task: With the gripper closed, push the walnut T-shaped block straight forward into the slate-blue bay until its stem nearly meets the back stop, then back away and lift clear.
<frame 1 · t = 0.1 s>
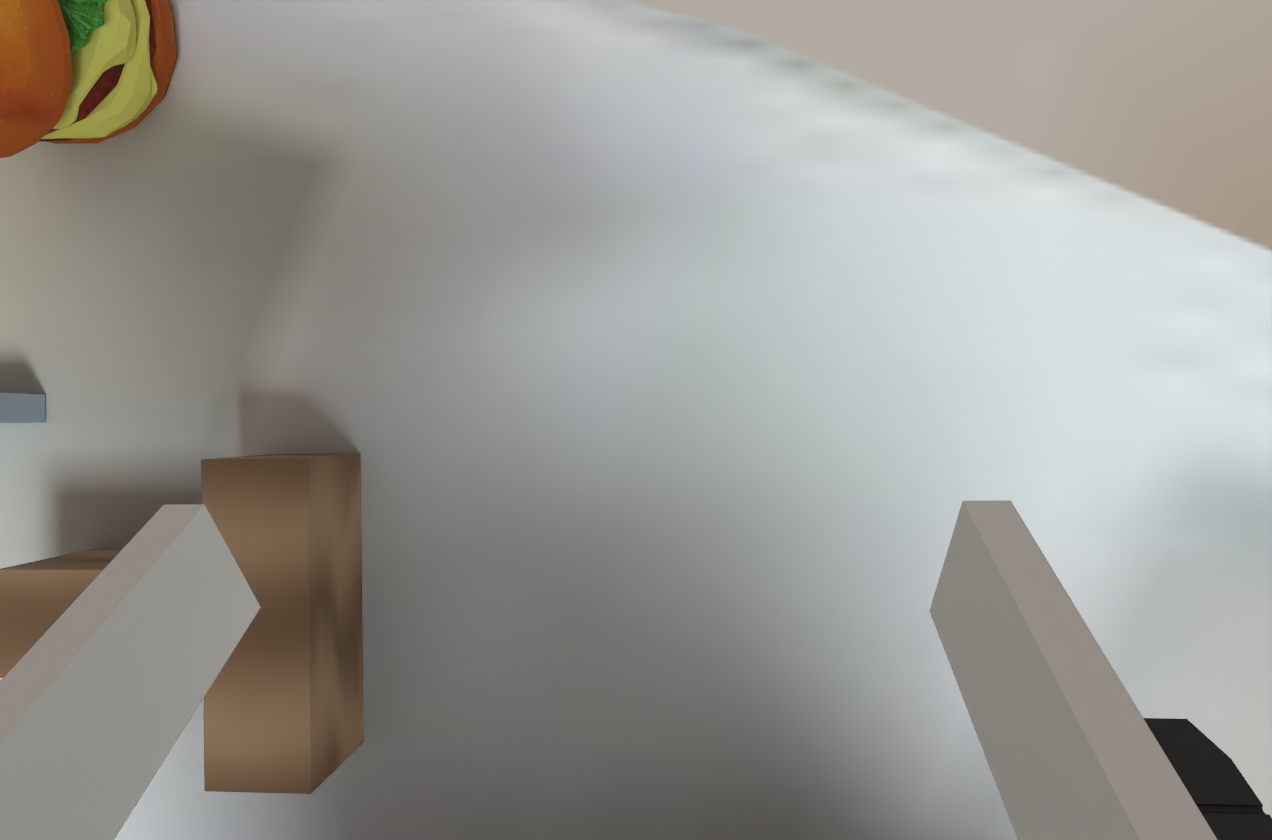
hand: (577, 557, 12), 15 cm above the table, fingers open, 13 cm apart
t block: (224, 596, 29), on the table
cheeseburger: (91, 65, 29), on the table
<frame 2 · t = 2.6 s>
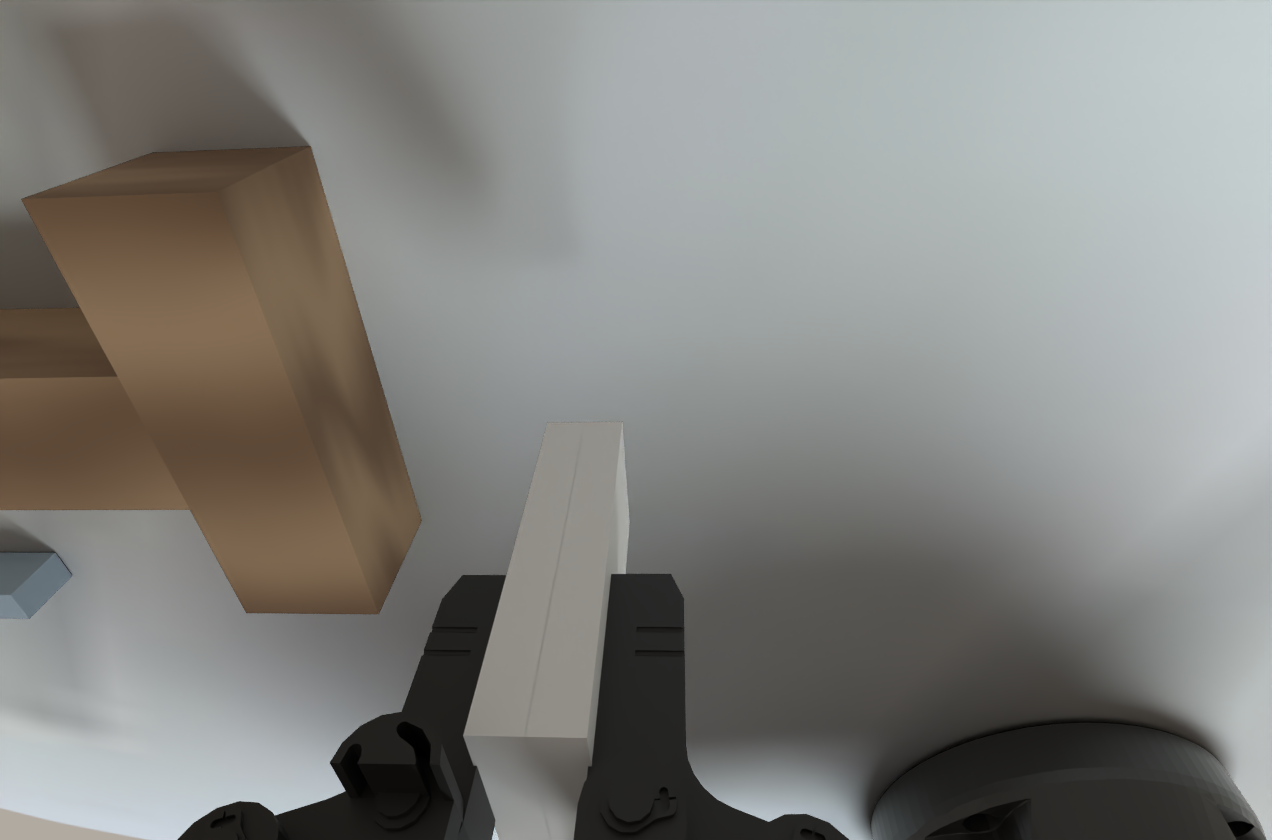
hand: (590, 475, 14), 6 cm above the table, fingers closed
t block: (178, 368, 20), on the table
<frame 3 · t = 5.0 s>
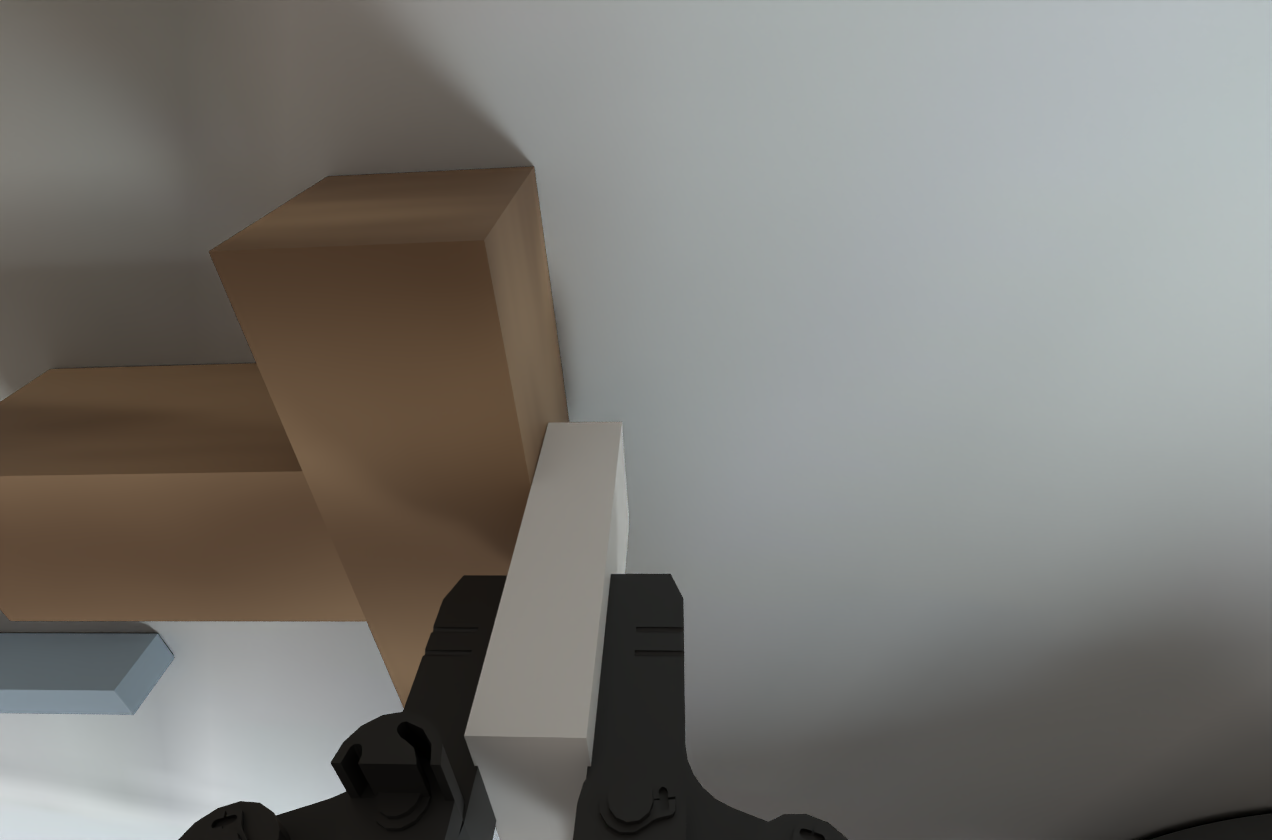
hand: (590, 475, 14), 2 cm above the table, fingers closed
t block: (325, 433, 16), on the table, touching gripper
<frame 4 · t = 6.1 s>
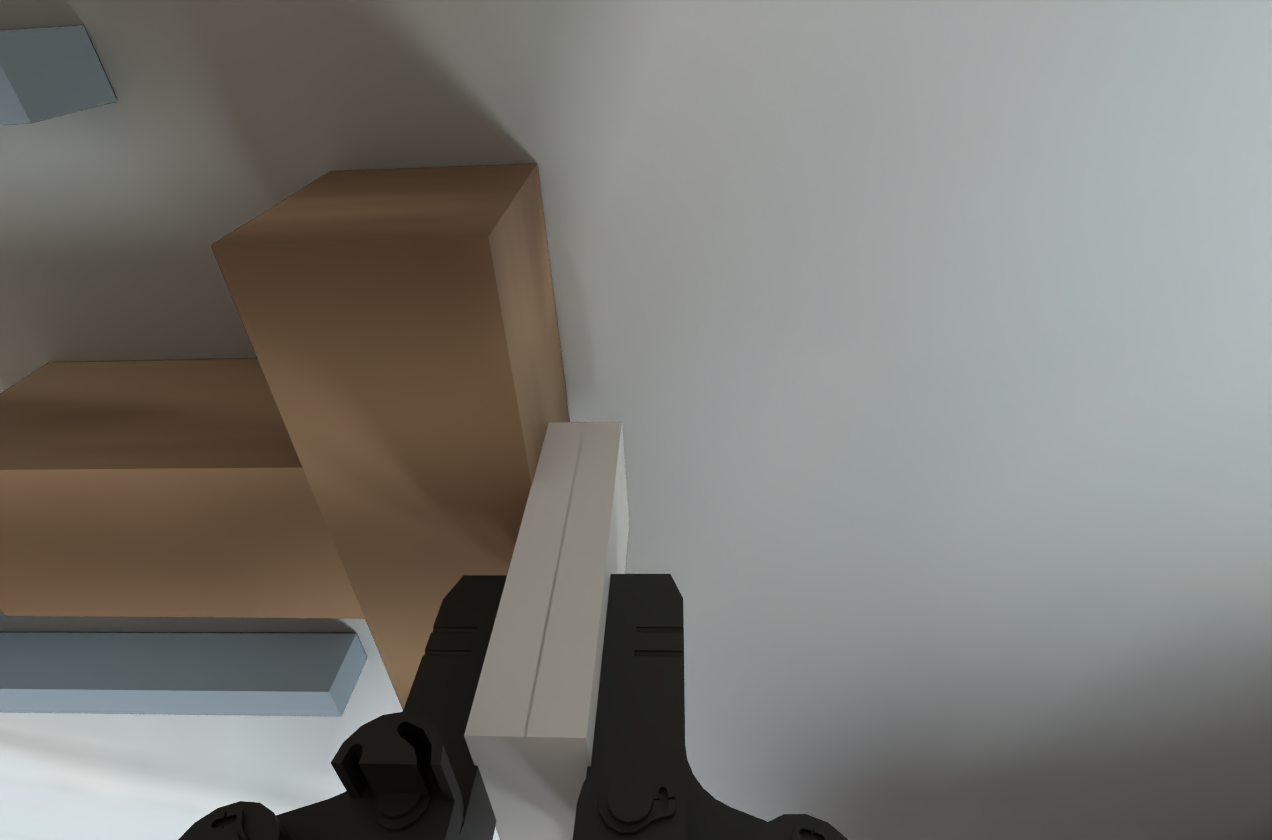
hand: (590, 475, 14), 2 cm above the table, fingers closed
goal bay: (1, 440, 17), on the table
t block: (324, 430, 16), on the table, touching gripper
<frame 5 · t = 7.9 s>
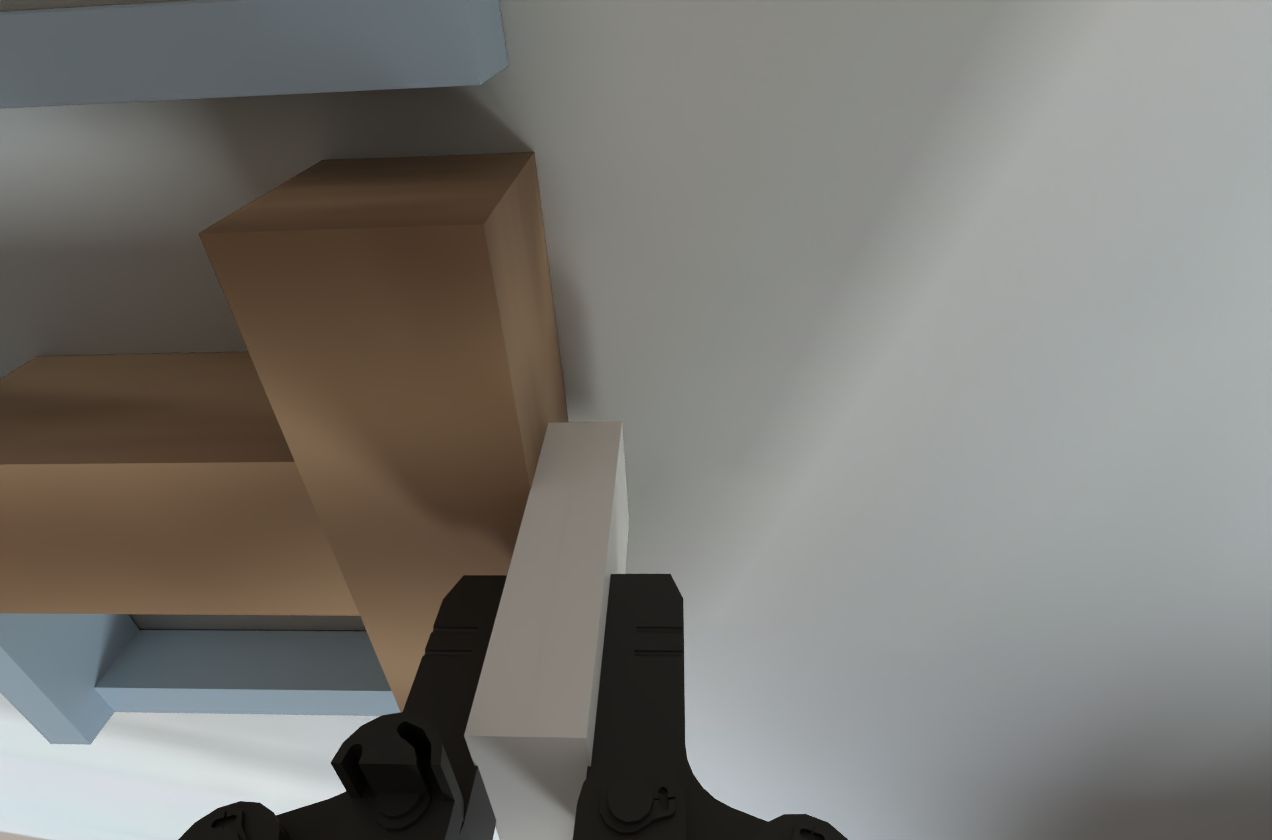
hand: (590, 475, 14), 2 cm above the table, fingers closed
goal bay: (270, 429, 16), on the table
t block: (319, 424, 16), on the table, touching gripper
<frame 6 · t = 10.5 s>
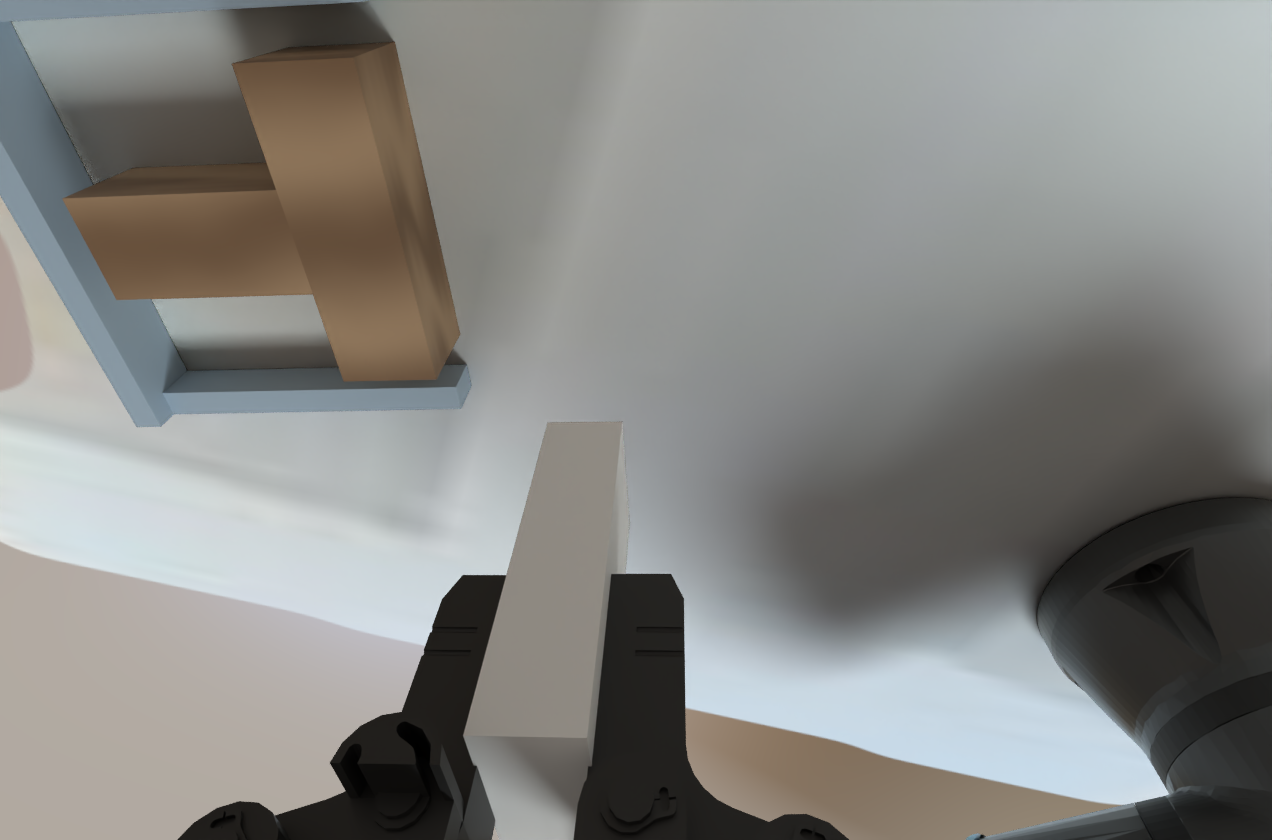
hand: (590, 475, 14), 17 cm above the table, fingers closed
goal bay: (269, 215, 29), on the table
t block: (291, 211, 28), on the table
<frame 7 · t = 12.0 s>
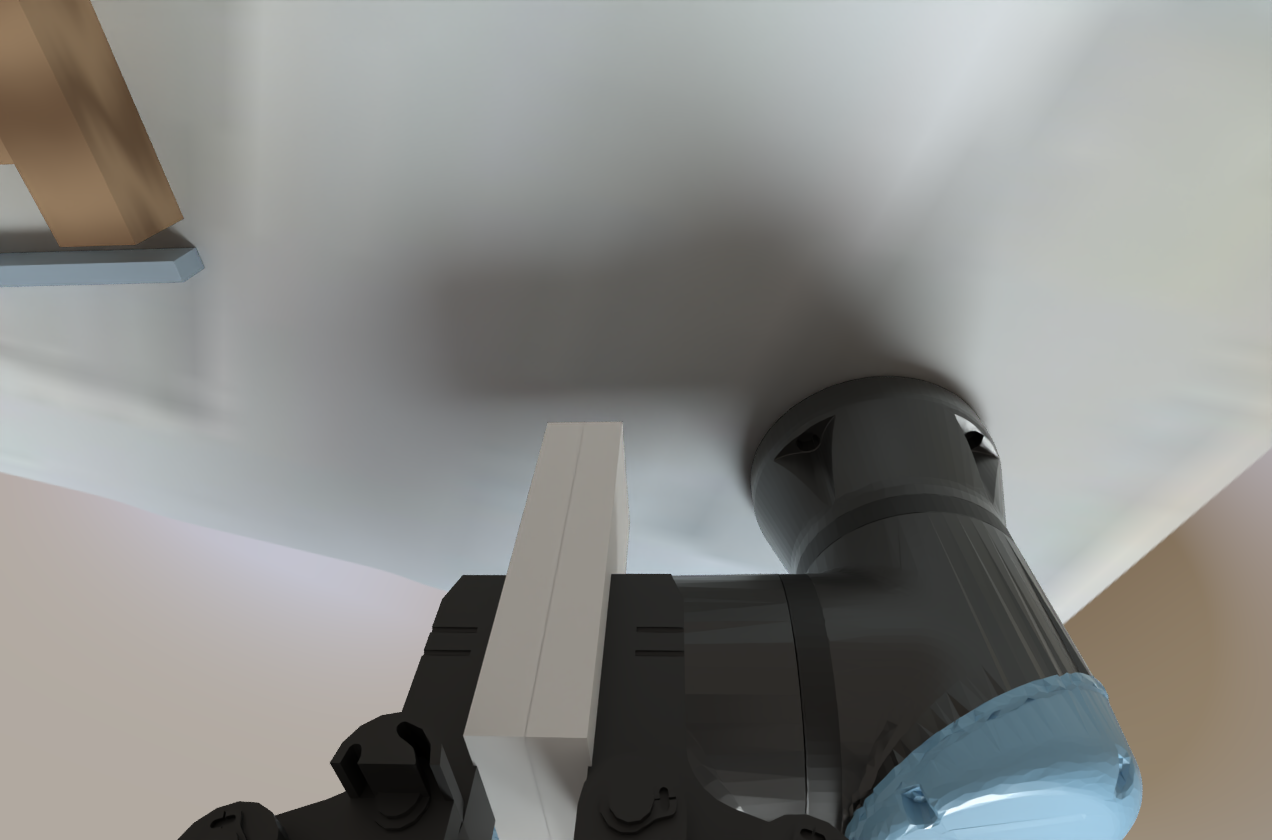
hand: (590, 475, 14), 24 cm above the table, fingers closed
t block: (18, 103, 34), on the table
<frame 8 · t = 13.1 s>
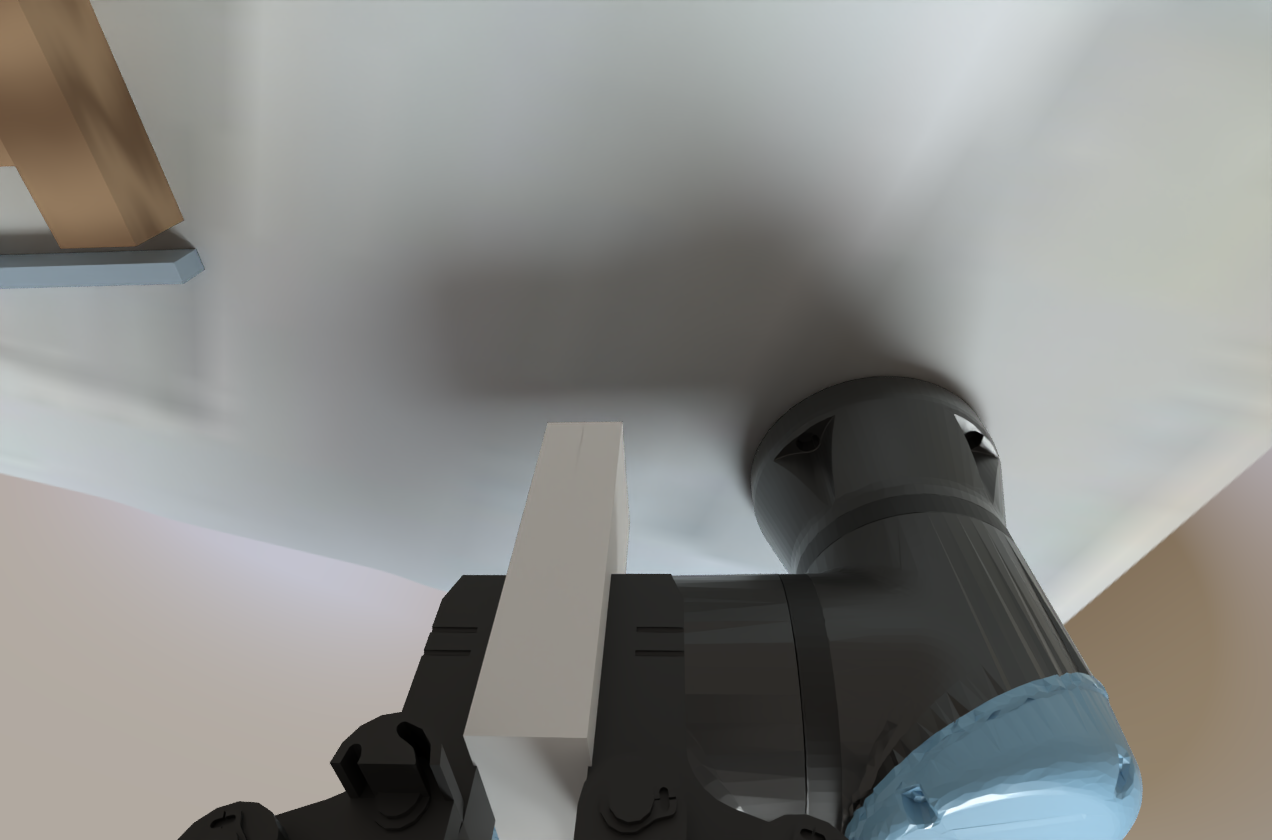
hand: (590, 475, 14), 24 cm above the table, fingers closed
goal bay: (0, 108, 34), on the table
t block: (18, 105, 34), on the table
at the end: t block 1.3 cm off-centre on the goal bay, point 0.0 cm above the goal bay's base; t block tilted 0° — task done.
